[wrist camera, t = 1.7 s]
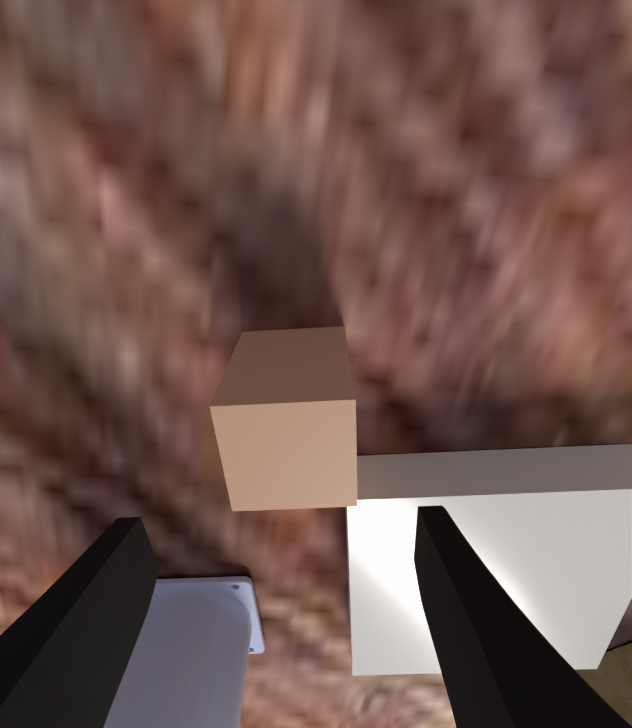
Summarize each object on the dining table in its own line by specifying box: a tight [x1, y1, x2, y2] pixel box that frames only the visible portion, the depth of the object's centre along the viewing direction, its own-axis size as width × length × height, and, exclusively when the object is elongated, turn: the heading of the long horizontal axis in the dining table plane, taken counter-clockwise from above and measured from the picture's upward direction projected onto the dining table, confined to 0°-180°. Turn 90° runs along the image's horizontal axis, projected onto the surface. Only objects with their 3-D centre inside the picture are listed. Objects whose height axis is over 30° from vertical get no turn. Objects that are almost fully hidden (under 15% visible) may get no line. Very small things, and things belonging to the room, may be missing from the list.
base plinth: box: [345, 444, 632, 675], centre depth 23 cm, size 15×15×3 cm
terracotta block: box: [210, 326, 357, 511], centre depth 16 cm, size 4×4×6 cm
